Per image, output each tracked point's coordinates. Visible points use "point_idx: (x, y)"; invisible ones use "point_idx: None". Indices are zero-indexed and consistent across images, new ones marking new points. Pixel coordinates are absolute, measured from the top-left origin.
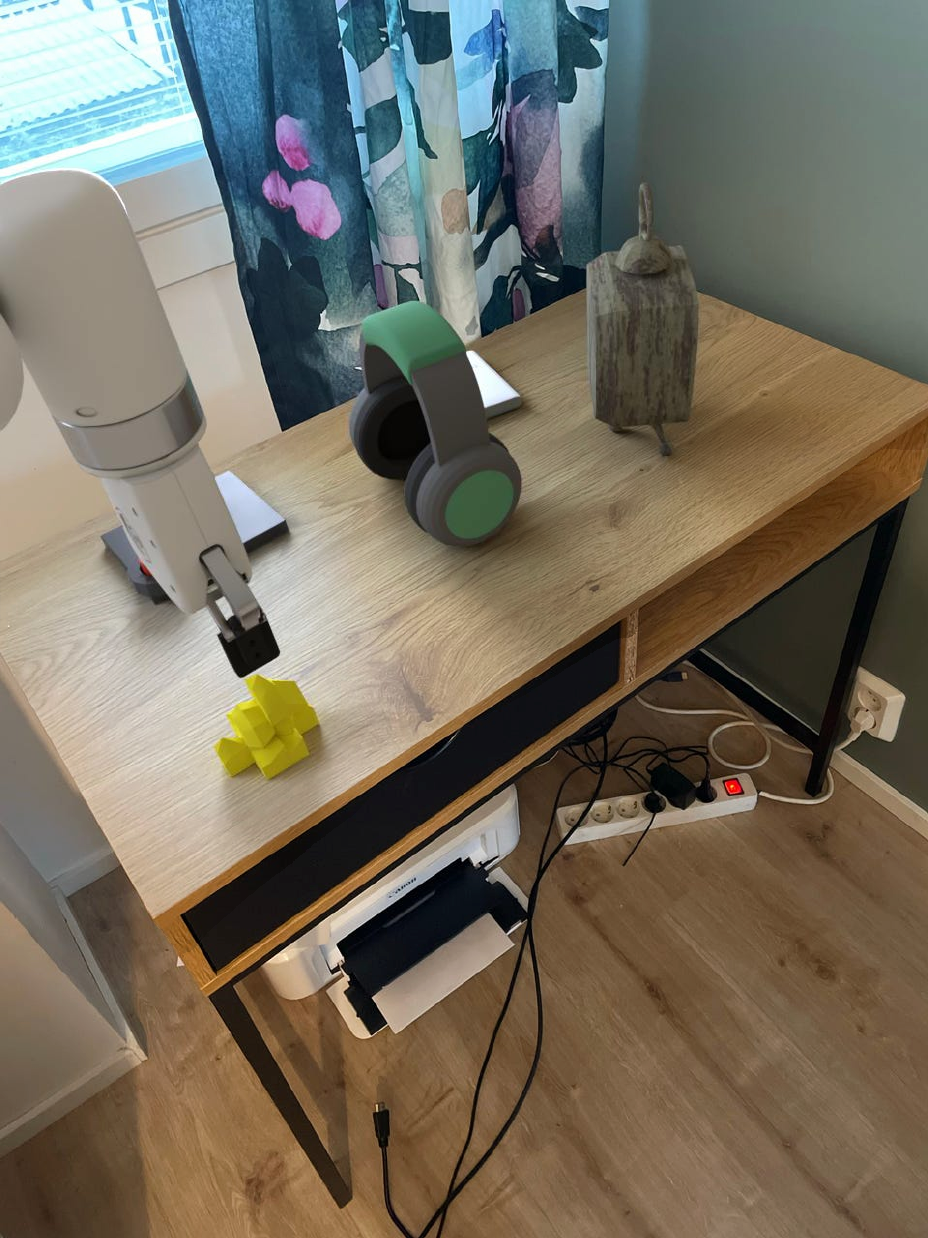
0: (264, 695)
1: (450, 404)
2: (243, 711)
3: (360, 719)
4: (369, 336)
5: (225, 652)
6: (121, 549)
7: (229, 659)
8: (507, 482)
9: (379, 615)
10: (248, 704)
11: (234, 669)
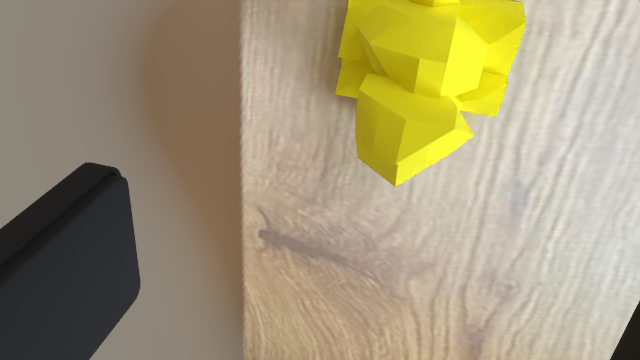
0: (375, 125)
1: None
2: (416, 59)
3: (342, 177)
4: None
5: (16, 235)
6: None
7: (24, 214)
8: None
9: (502, 341)
10: (429, 80)
11: (57, 184)
